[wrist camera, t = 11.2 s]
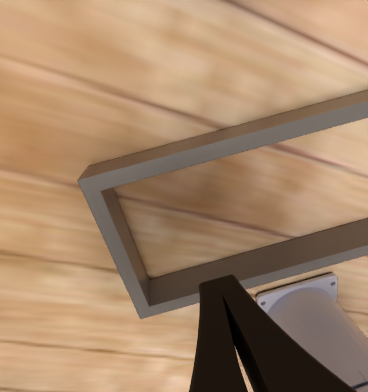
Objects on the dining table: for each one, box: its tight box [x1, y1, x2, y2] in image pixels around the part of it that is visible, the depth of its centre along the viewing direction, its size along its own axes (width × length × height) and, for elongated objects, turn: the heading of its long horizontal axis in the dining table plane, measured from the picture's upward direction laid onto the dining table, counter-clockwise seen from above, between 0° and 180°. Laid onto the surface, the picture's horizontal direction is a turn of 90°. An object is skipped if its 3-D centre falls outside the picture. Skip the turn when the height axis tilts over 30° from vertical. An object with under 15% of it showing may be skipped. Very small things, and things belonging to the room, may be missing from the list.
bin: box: [77, 90, 368, 319], centre depth 19 cm, size 12×24×3 cm, turn 104°
